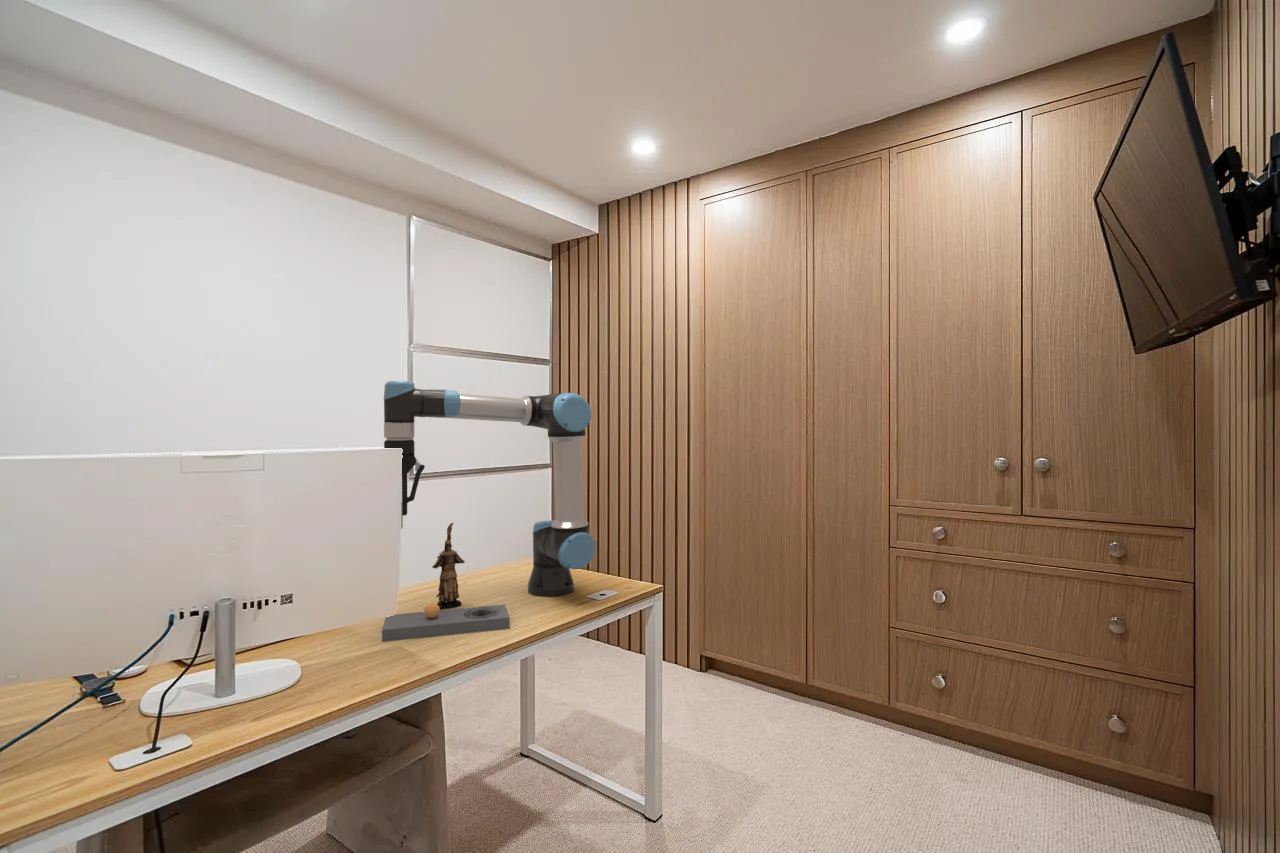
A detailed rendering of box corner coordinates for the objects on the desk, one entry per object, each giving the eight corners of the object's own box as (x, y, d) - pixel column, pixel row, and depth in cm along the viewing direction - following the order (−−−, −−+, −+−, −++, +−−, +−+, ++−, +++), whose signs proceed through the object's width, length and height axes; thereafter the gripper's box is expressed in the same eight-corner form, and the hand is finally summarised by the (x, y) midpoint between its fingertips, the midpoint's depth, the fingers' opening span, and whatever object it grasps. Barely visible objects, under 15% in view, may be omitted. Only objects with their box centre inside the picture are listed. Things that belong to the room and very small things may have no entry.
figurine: (466, 604, 187) (466, 523, 186) (438, 612, 179) (438, 527, 179) (454, 600, 191) (454, 520, 190) (426, 608, 183) (426, 525, 183)
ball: (439, 614, 168) (439, 600, 168) (439, 619, 164) (439, 604, 164) (424, 616, 167) (424, 601, 167) (424, 620, 163) (423, 605, 163)
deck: (505, 614, 178) (505, 604, 178) (509, 628, 166) (509, 617, 166) (386, 626, 168) (386, 615, 168) (382, 641, 156) (382, 629, 156)
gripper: (425, 438, 168) (425, 524, 168) (374, 438, 164) (374, 526, 164) (425, 439, 161) (425, 529, 161) (371, 439, 157) (371, 531, 157)
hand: (399, 527), depth 163 cm, fingers closed
